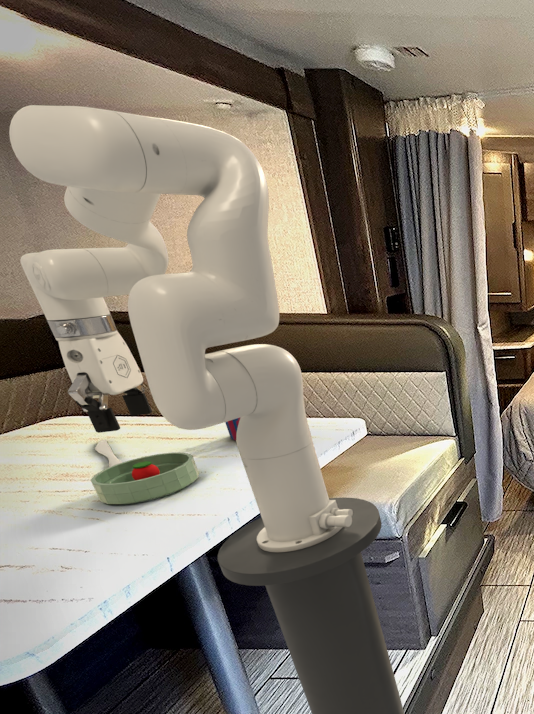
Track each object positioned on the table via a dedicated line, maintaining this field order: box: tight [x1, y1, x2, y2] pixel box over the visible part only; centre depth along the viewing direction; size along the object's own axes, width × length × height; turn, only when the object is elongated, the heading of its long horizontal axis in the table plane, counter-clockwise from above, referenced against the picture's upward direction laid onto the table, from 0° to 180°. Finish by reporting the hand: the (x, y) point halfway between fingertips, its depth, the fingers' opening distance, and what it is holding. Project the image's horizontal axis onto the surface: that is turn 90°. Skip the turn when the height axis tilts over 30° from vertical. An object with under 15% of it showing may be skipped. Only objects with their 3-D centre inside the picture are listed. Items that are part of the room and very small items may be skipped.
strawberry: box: [132, 461, 160, 480], centre depth 96 cm, size 4×4×5 cm
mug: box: [224, 417, 241, 441], centre depth 120 cm, size 7×10×7 cm
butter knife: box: [94, 439, 123, 468], centre depth 112 cm, size 1×27×3 cm
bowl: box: [90, 452, 200, 505], centre depth 96 cm, size 14×14×4 cm
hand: (126, 422), depth 92 cm, fingers open, 9 cm apart
